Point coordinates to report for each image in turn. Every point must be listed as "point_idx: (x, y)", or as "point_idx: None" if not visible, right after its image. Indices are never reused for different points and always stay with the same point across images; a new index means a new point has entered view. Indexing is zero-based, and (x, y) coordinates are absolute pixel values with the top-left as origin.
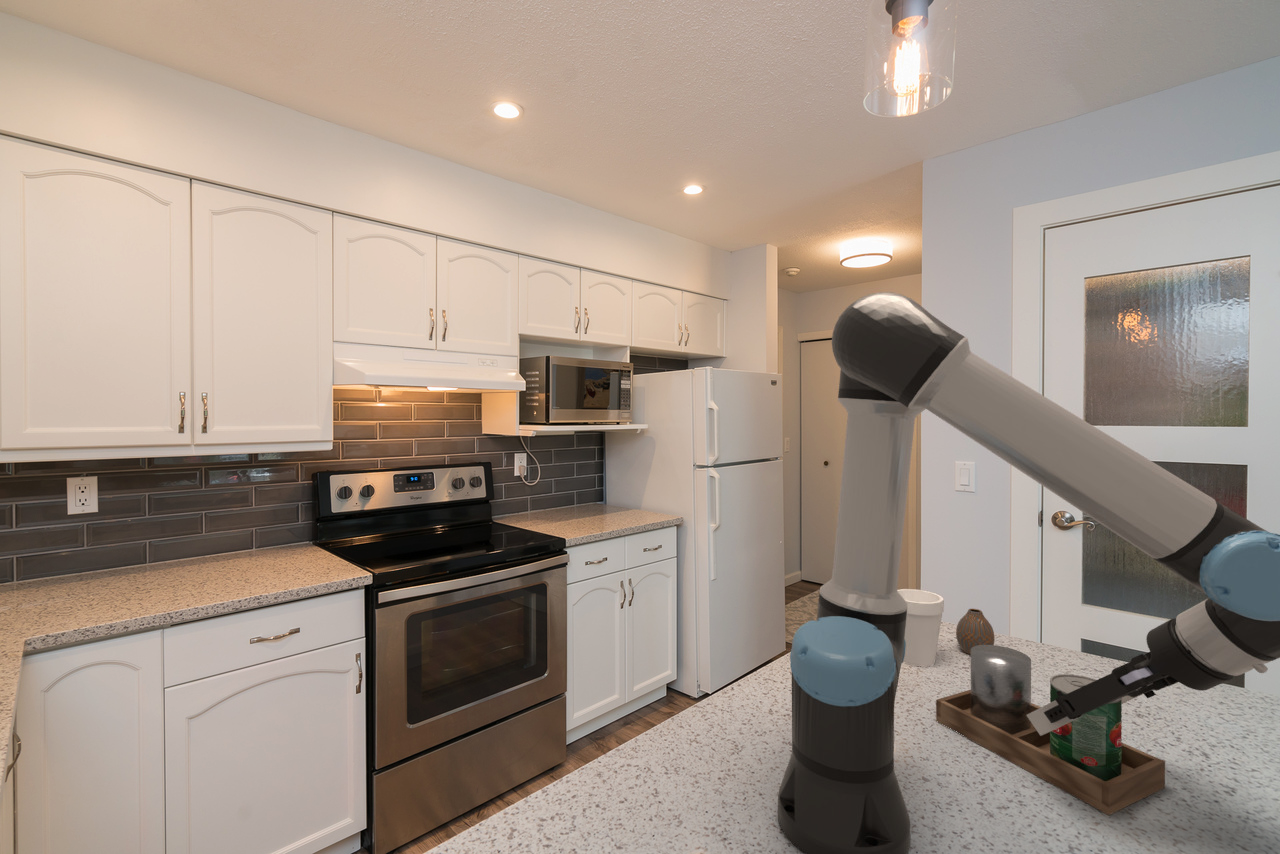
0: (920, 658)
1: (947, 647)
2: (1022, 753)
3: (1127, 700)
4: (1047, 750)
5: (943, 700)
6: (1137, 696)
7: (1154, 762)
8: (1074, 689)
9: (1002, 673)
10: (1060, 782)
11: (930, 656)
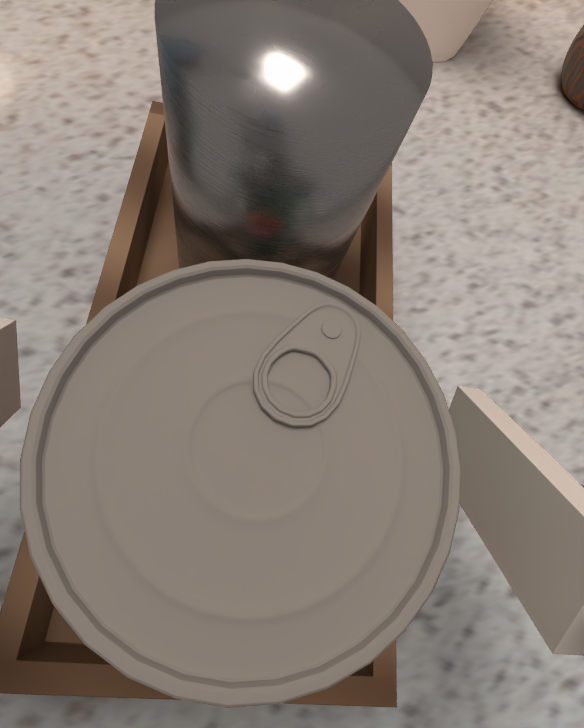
0: None
1: (545, 53)
2: None
3: (506, 576)
4: None
5: None
6: (549, 642)
7: (351, 689)
8: (183, 409)
9: (177, 106)
10: None
11: (433, 31)
